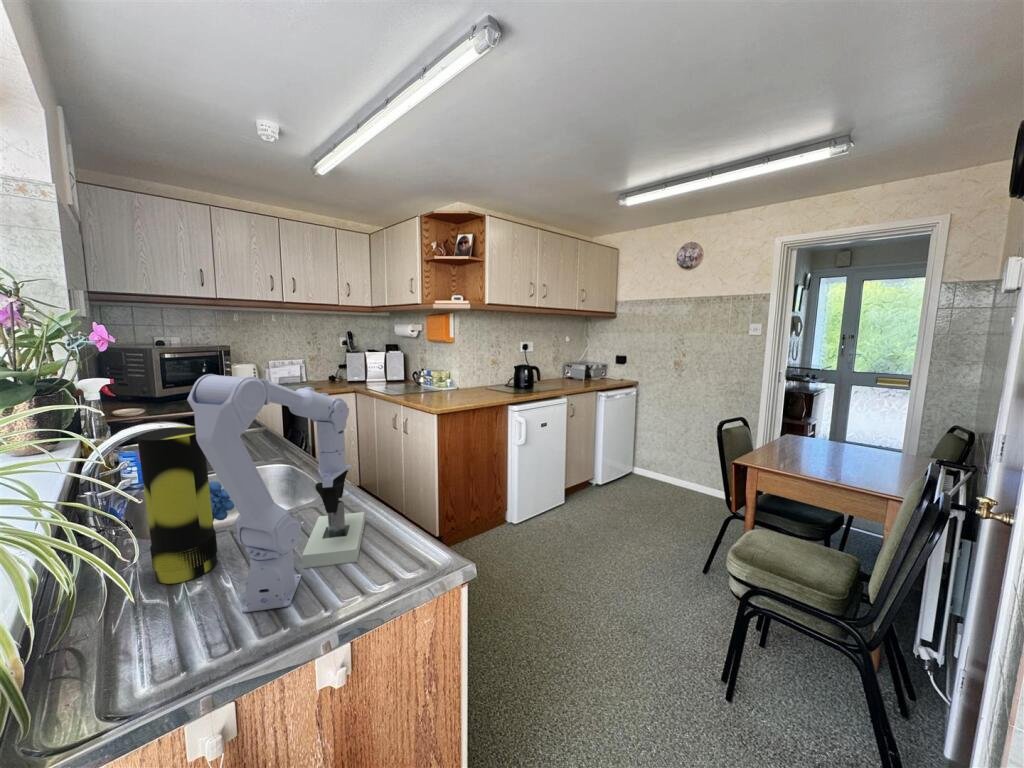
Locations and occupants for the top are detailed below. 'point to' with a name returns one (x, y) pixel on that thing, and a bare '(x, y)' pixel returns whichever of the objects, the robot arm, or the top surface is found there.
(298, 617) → the top surface
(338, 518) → the peg
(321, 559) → the hole block
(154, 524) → the container
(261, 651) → the top surface
